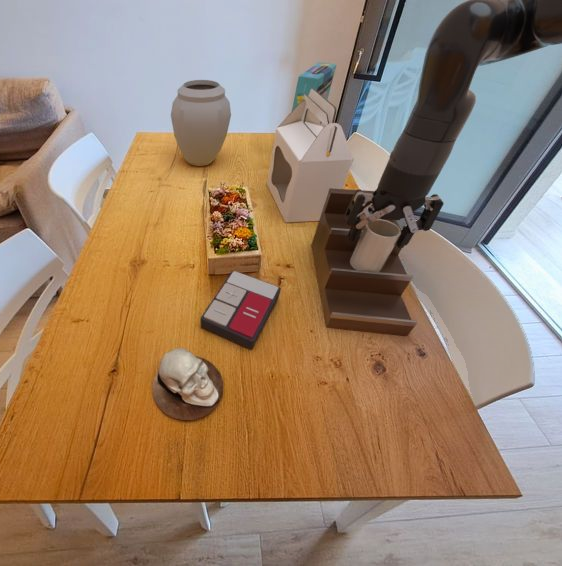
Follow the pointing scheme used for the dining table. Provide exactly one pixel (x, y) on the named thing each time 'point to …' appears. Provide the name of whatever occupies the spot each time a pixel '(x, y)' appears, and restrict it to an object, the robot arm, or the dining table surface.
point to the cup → (375, 245)
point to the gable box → (308, 159)
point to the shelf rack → (357, 276)
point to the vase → (200, 120)
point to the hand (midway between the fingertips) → (375, 243)
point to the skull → (186, 385)
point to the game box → (314, 82)
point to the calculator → (241, 309)
